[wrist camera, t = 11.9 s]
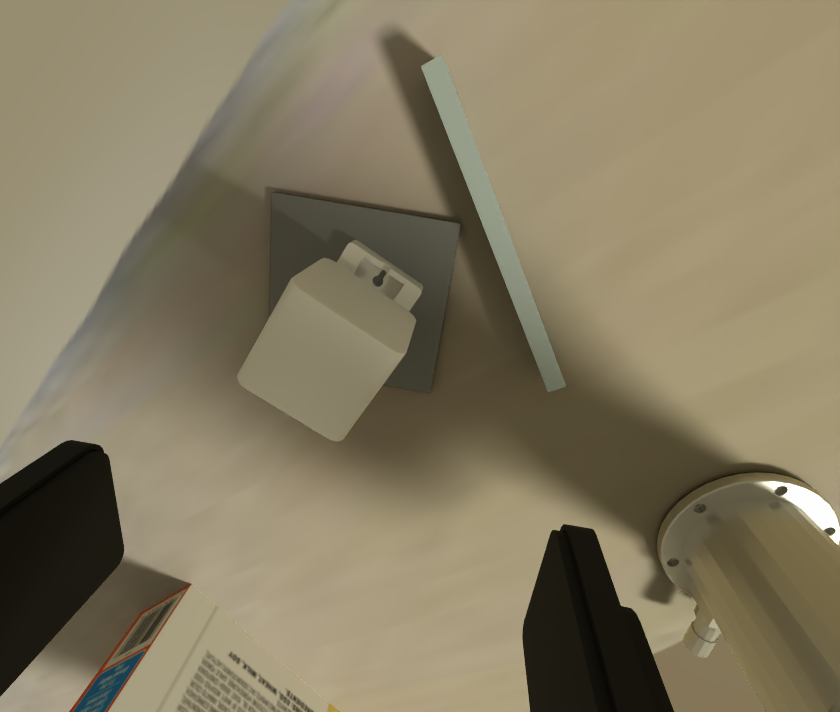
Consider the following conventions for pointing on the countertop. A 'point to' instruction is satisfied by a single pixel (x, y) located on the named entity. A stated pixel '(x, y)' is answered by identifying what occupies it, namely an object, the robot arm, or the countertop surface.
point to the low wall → (491, 218)
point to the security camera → (333, 340)
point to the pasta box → (194, 666)
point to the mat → (387, 236)
